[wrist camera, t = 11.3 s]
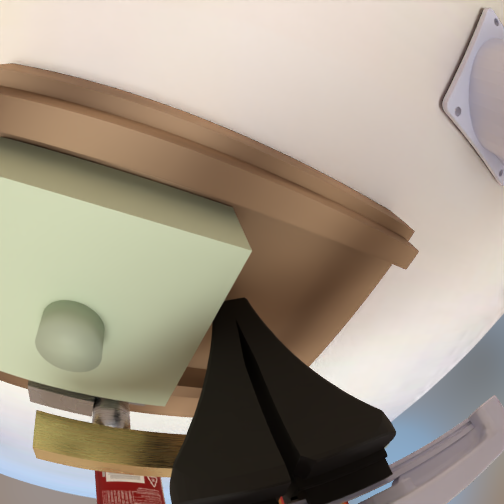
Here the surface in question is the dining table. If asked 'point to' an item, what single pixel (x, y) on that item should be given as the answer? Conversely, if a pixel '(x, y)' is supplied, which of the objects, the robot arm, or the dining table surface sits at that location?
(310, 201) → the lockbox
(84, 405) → the lever latch
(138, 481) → the soda can
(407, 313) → the dining table surface
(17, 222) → the cover
